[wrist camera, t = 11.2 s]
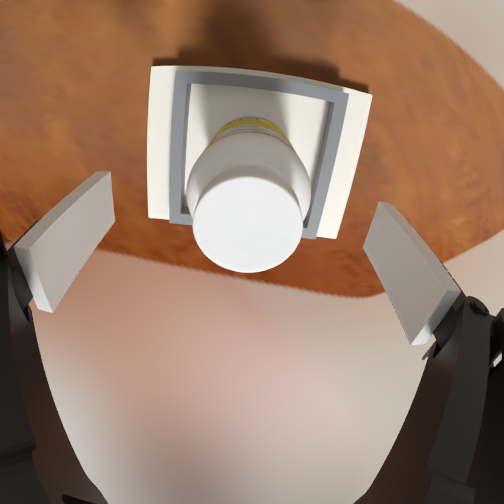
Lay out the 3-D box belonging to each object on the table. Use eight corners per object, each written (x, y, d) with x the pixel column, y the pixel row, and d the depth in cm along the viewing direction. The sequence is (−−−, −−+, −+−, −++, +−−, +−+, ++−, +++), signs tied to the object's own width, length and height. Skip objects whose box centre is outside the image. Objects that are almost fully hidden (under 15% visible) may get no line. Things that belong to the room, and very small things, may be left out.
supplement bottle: (257, 205, 25) (258, 310, 15) (194, 162, 23) (143, 243, 12) (307, 148, 22) (357, 219, 12) (243, 98, 20) (229, 116, 9)
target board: (151, 213, 27) (143, 225, 25) (154, 66, 19) (145, 65, 17) (333, 234, 28) (339, 247, 26) (368, 94, 20) (379, 96, 18)
